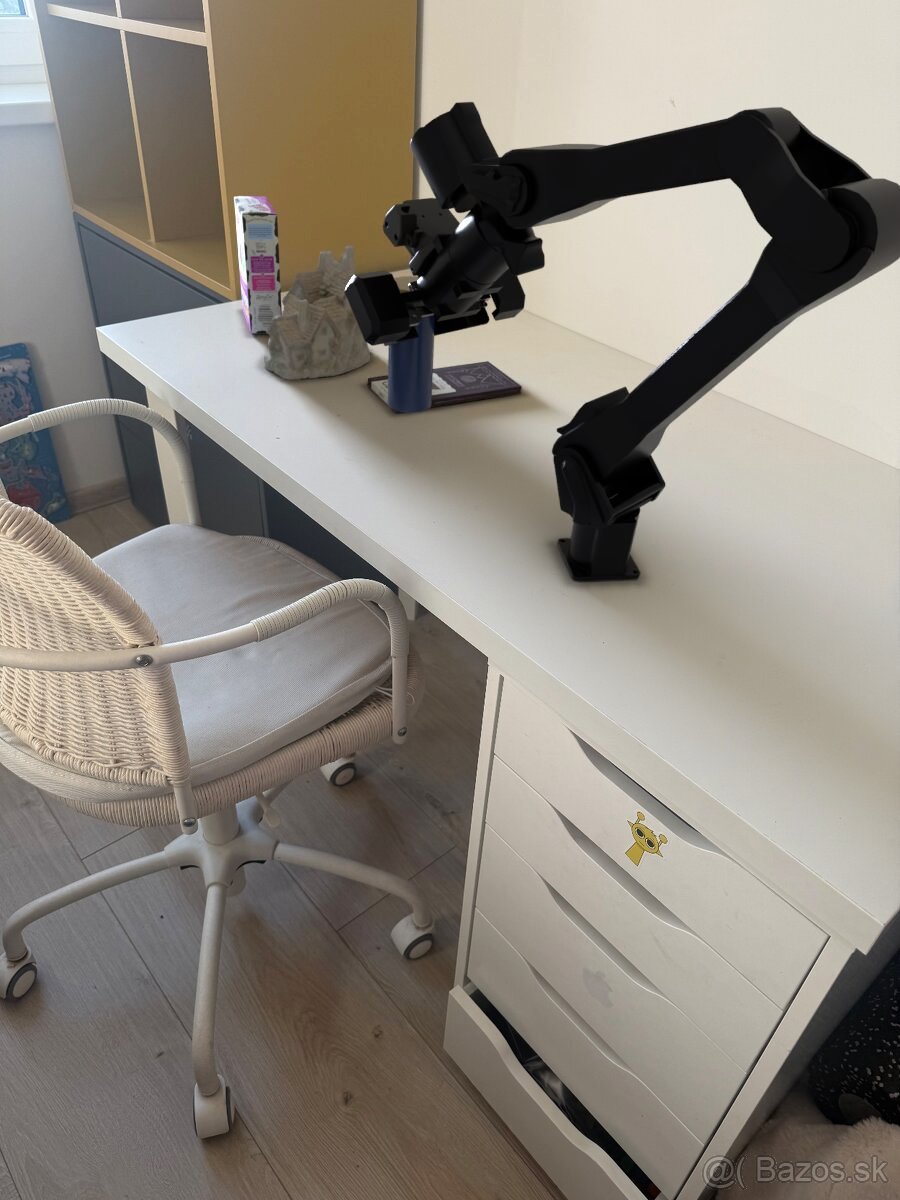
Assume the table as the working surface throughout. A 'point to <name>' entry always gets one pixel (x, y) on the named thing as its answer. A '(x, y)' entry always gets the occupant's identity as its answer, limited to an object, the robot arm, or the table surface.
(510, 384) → the chocolate bar
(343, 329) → the ceramic cottage
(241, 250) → the candy bar box
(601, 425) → the robot arm
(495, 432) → the table surface
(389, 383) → the blue canister
